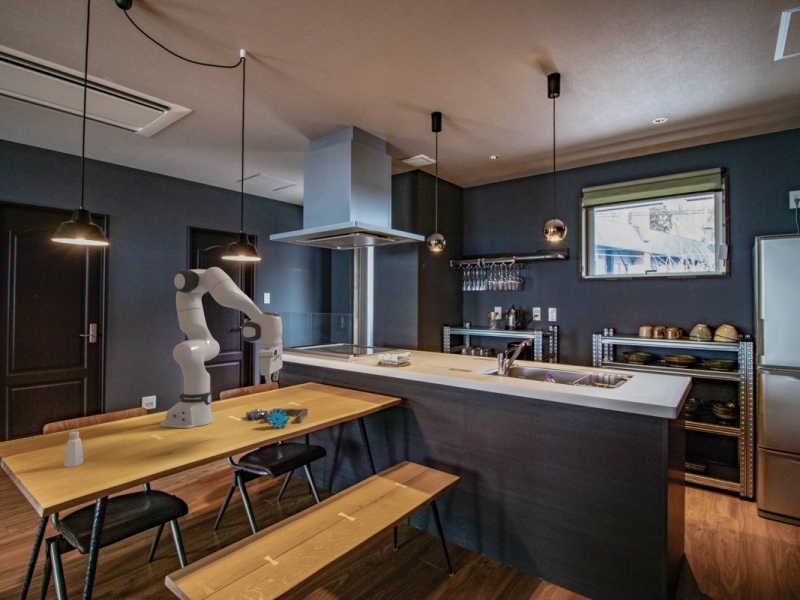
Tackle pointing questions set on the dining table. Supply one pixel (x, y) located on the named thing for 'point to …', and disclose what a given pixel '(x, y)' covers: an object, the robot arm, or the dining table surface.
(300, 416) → the brown bracket
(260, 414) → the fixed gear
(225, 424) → the dining table surface
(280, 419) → the gear
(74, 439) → the pepper shaker
